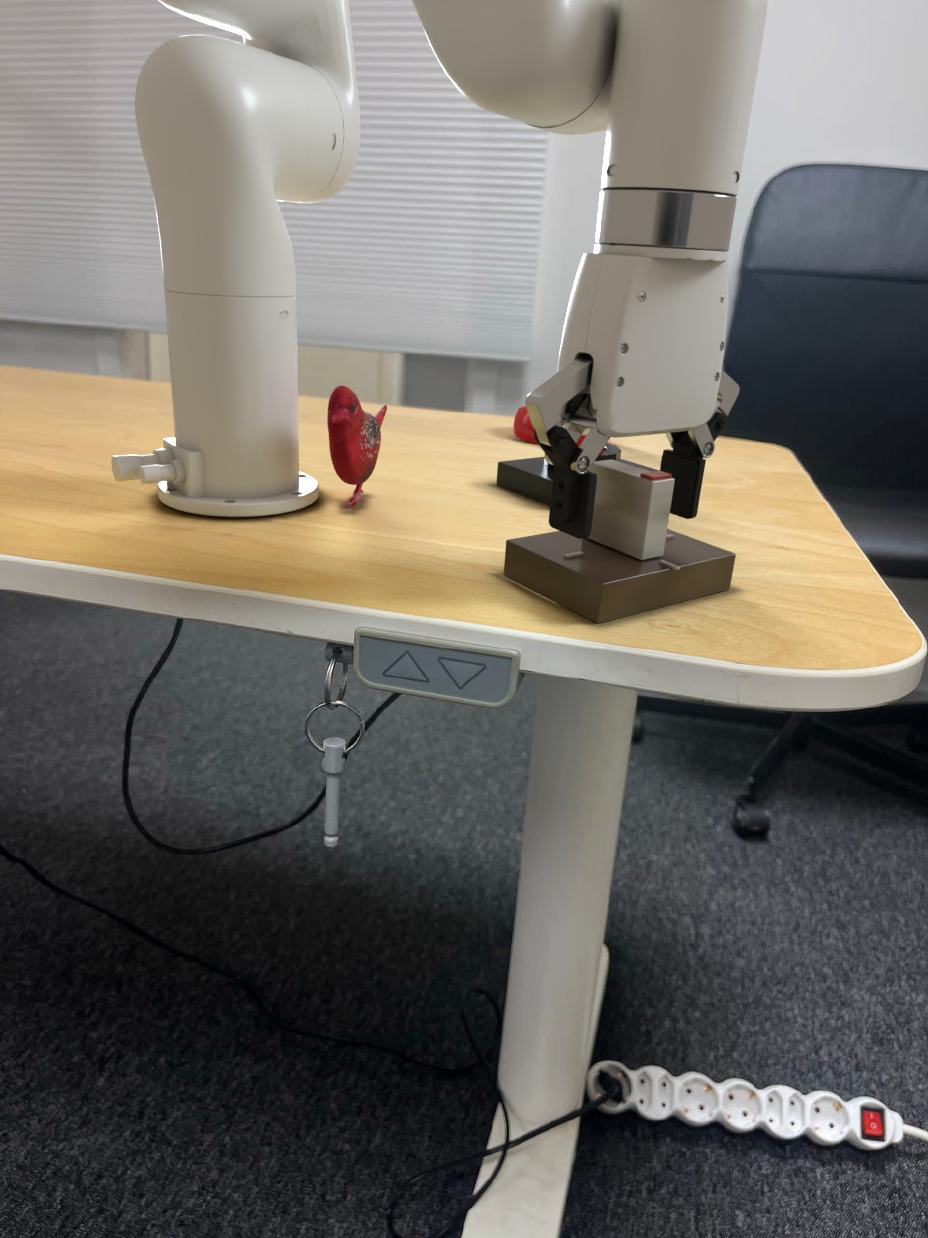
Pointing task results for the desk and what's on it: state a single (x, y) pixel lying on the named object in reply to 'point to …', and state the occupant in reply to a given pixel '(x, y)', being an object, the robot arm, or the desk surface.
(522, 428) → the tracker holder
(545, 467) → the button box
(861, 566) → the desk surface
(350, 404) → the decorative bird figurine
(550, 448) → the robot arm
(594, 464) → the grey rectangular block
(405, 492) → the desk surface
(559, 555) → the brown flat block
